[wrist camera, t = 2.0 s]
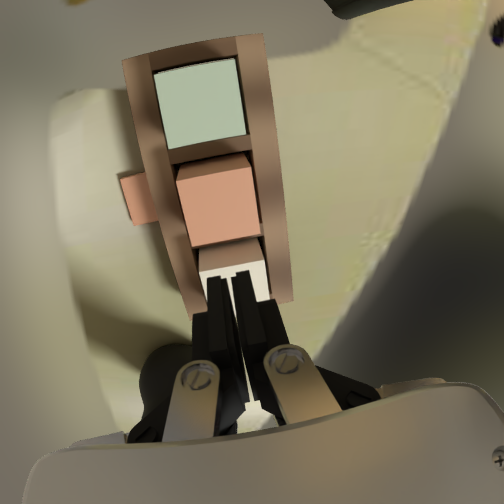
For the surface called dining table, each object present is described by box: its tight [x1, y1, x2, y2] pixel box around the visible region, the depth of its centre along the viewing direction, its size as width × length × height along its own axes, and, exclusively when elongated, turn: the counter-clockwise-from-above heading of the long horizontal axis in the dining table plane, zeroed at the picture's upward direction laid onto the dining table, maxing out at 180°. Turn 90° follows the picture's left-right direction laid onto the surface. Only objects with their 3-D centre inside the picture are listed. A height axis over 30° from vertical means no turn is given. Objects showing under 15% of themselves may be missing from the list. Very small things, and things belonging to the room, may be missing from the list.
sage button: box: [154, 59, 246, 149], centre depth 18 cm, size 4×4×4 cm
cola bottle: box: [139, 345, 192, 420], centre depth 21 cm, size 8×8×30 cm
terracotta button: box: [176, 153, 261, 247], centre depth 21 cm, size 4×4×4 cm
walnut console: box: [122, 33, 294, 321], centre depth 23 cm, size 21×9×3 cm, turn 8°
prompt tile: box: [120, 172, 158, 226], centre depth 24 cm, size 4×2×1 cm, turn 8°
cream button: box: [199, 237, 270, 317], centre depth 25 cm, size 4×4×4 cm
